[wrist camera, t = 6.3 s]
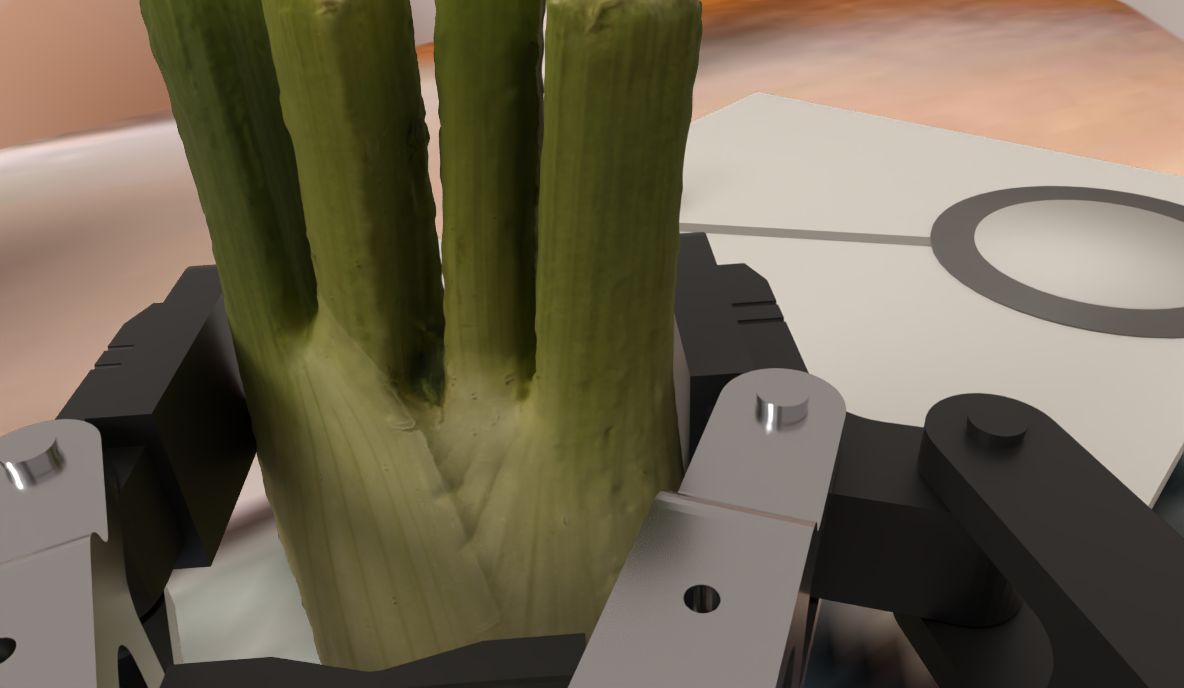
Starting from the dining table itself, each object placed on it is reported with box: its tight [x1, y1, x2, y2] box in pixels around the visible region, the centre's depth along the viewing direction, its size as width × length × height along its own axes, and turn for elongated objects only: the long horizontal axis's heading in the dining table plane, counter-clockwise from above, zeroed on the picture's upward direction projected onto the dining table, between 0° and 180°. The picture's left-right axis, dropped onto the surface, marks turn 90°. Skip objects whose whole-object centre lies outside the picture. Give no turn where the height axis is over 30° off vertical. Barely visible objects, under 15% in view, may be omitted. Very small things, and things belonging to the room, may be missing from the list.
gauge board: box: [438, 92, 1184, 509], centre depth 27 cm, size 20×20×3 cm
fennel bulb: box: [140, 0, 702, 672], centre depth 11 cm, size 6×5×12 cm
